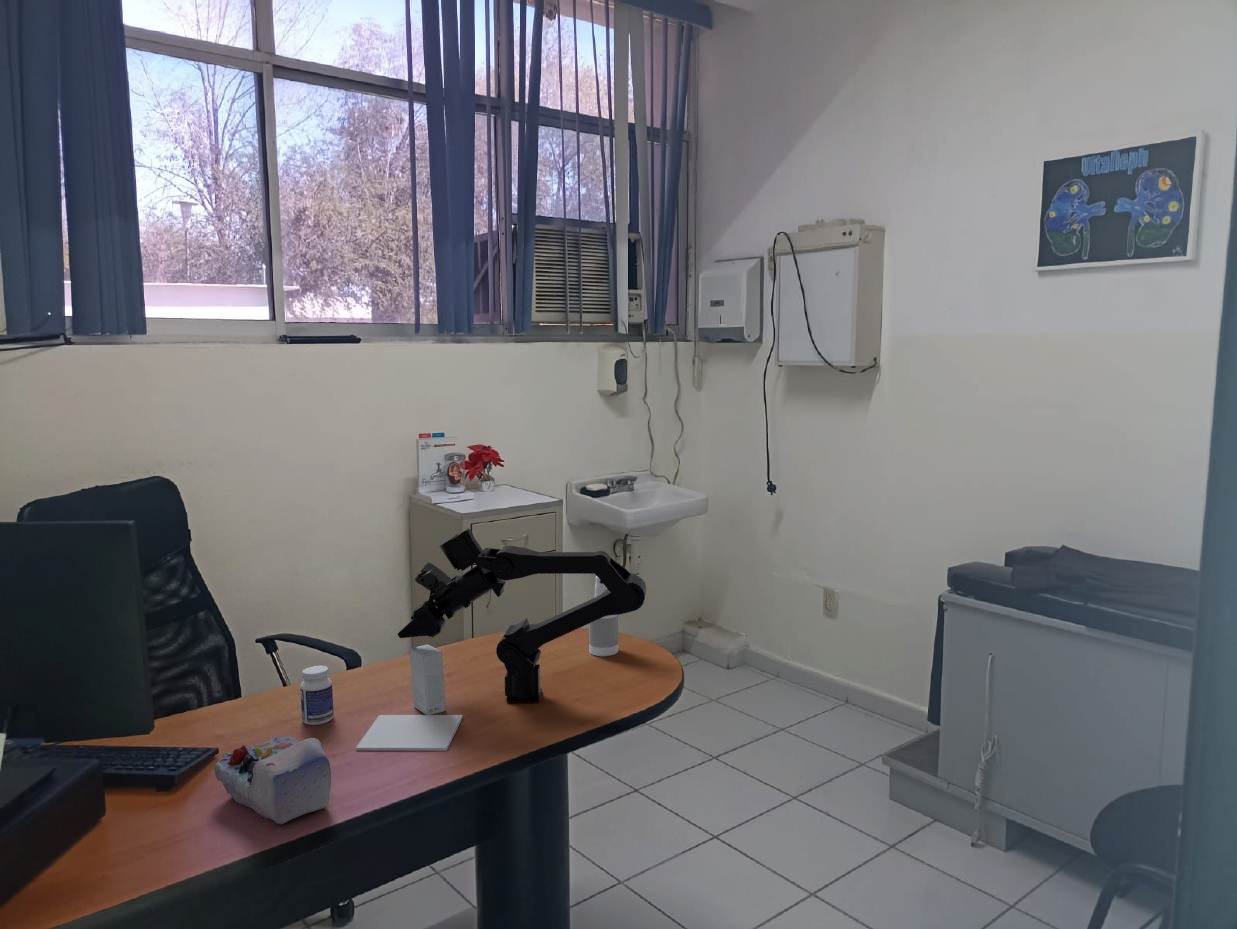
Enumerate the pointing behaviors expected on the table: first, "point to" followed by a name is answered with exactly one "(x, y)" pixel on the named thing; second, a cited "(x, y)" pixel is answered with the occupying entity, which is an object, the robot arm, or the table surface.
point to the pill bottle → (316, 696)
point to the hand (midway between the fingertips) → (405, 627)
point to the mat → (411, 733)
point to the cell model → (278, 777)
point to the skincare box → (427, 679)
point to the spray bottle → (603, 630)
